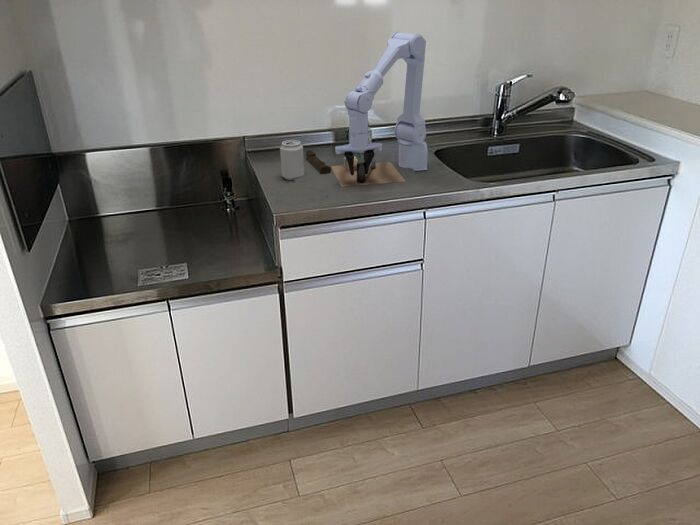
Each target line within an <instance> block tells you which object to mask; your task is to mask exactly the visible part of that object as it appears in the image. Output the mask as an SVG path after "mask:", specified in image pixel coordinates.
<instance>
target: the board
mask: <svg viewBox="0 0 700 525" xmlns="http://www.w3.org/2000/svg"><path fill="white" fill-rule="evenodd" d="M353 156H354V158H356V159H357V157H356V156H355V155H353ZM330 167H331V170H332V171H333V173H334V175H335V178H337V181H338V183H339V186H340V187H341V188H343V187H355V186H356V187H358V186H367V185H368V186H369V185H382V184H394V183H402V182H403V183H404V182H407V181H406V179H405V178H404V177H403V175H401V173H400V172H399V170H397V168H396V167H395V166H394V164H393V163H392V162H391V161H382V162H381V161H380V162H376V168H374V169H371V171H370V173H369V175H368V177H367V178H366V181H365V182H363V183H359V182H357V171H354V175H351V174H350V171H348V170H347V160H346V158H345V156H343V165H331V166H330Z"/></svg>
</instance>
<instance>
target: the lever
mask: <svg viewBox="0 0 700 525" xmlns="http://www.w3.org/2000/svg"><path fill="white" fill-rule="evenodd" d="M376 163H377V161H376V159H374V158H373V159H372V161H371V163H370V166H369V170H368V174H366V163H365V162H364V159H363V160H362V161H358V162H357V182H359V183H363V182H365V181H366V178H367V177H368V175H369V173H370V171H371V169H374V168H376Z"/></svg>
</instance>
